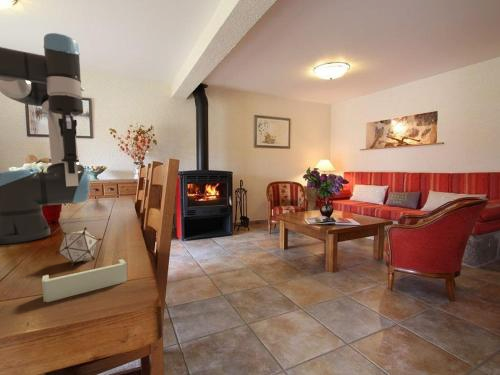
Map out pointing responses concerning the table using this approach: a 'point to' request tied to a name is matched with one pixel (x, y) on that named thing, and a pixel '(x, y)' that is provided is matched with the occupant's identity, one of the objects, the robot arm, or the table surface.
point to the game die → (78, 246)
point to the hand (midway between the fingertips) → (72, 185)
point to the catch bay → (83, 281)
